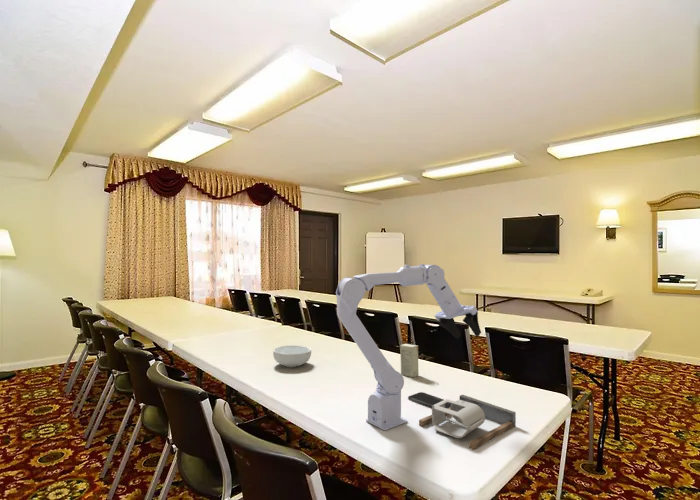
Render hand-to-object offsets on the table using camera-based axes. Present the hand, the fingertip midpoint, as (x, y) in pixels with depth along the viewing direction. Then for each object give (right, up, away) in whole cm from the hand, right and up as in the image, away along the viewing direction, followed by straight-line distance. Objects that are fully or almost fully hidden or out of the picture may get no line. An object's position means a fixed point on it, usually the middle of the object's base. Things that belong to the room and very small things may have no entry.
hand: (468, 335), depth 112 cm
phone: (-10, -25, +8) cm, 28 cm away
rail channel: (-3, -24, -9) cm, 25 cm away
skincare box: (-12, -25, +38) cm, 47 cm away
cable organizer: (-7, -24, -12) cm, 27 cm away
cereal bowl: (-63, -25, +51) cm, 85 cm away
